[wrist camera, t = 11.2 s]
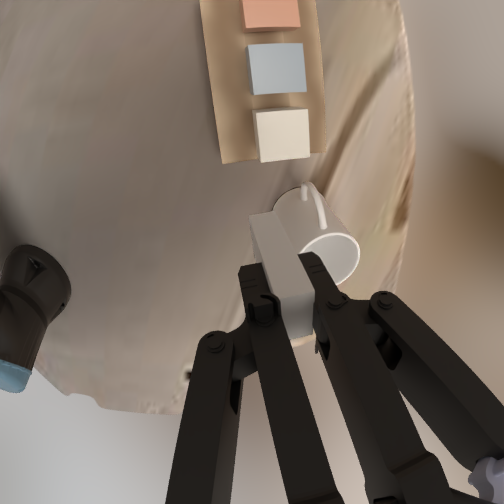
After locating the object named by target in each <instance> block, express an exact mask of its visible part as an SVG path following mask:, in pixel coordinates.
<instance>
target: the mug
mask: <svg viewBox="0 0 504 504" xmlns="http://www.w3.org/2000/svg"><path fill="white" fill-rule="evenodd" d="M307 187H308V188H307ZM273 211H275V212H276V214H277V216H278V218H279V220H280V222H281V224H282V226H283V227H284V229H285V231H286V233H287V235H288V237H289V239H290V241H291V243H292V245H293V247H294V249H295V251H296V253H297V254H301V253H306V252H311V251H312V252H314V253H315V254H317V255H318V256H319V257H320V258H321V260H322V262H323V263H324V265H325V267H326V269H327V271H328V272H329V274H330V275H331V277H332V279H333V281H334V282H335V284H336V285H338V284H340V283H341V282H343V281H344V280H346V279H347V278H348V277H349V276H350V275H351V274H352V273H353V271H354V270H355V268H356V267H357V265H358V262H359V258H360V249H359V245H358V243H357V242H356V240H355V239H354V238H353V236H352V235H351V234H350V232H349V231H348V230H347V228H346V227H345V226H344V225H343V223H342V222H341V221H340V219H339V218H338V217H337V216H336V214H335V213H334V212H333V211H332V209H331V208H330V207H329V206H328V205H327V203H326V200H325V199H324V197H323V196H322V195H321V194H320V193H319V192H318V191H317V189H316V187H315V186H314V185H313V183H311V182H309V181H306V182H303V183H302V185H301V187H300V188H295V189H292V190H290V191H288V192H286V193H285V194H283V195H282V196H281V197H280V198H279V199H278V200H277V202H276V203H275V205H274V207H273Z"/></svg>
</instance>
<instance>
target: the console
mask: <svg viewBox="0 0 504 504" xmlns="http://www.w3.org/2000/svg"><path fill="white" fill-rule="evenodd" d="M297 2H298V10H299V17H300V25H301V27H300V28H298V29H296V30H294V31H266V32H248V33H243V30H242V22H241V14H240V7H239V0H200V8H201V16H202V24H203V32H204V40H205V47H206V55H207V62H208V69H209V76H210V84H211V91H212V98H213V105H214V111H215V118H216V125H217V132H218V138H219V145H220V152H221V158H222V164H227V163H233V162H240V161H247V160H254V159H259V158H258V157H257V151H256V142H255V132H254V123H253V114H252V110H260V109H271V108H283V107H303V108H306V109H308V120H309V142H310V153H322V152H326V123H325V99H324V82H323V68H322V56H321V45H320V36H319V27H318V19H317V11H316V4H315V0H297ZM275 43H303V53H304V63H305V75H306V87H307V92H288V93H272V94H260V95H252V94H250V88H249V79H248V70H247V62H246V54H245V48H246V47H247V46H248V45H255V44H275Z"/></svg>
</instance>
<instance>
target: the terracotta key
mask: <svg viewBox="0 0 504 504" xmlns="http://www.w3.org/2000/svg"><path fill="white" fill-rule="evenodd" d="M239 7H240V14H241V22H242V30H243V33H248V32H266V31H294V30H296V29H298V28H300V27H301V25H300V17H299V10H298V2H297V0H239Z"/></svg>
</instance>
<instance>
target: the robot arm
mask: <svg viewBox="0 0 504 504" xmlns="http://www.w3.org/2000/svg"><path fill="white" fill-rule="evenodd" d="M249 223H250V230H251V236H252V243H253V250H254V256H255V259H256V263H255V264H250V265H245V266H241V267H240V270H239V273H238V277H239V282H240V287H241V292H242V297H243V302H244V307H245V313H246V317H245V320H244V322H243V323H242V325H241V326H239V327H238V328H237V329H235V330H233V331H231V332H229V333H226V332H223V331H212V332H209V333H207V334H205V335H204V336H203V337H202V338H201V339H200V341H199V343H198V347H197V351H196V356H195V360H194V364H193V369H192V373H191V377H190V382H189V386H188V391H187V395H186V400H185V405H184V409H183V414H182V419H181V423H180V429H179V434H178V438H177V443H176V448H175V453H174V458H173V463H172V469H171V474H170V480H169V485H168V491H167V497H166V502H165V504H230V500H231V491H232V482H233V473H234V464H235V455H236V446H237V437H238V428H239V417H240V409H241V399H242V389H243V381H244V378H245V377H247V376H248V375H250V374H252V373H254V372H256V371H258V374H259V379H260V383H261V388H262V392H263V397H264V401H265V406H266V410H267V415H268V419H269V423H270V427H271V432H272V436H273V441H274V445H275V449H276V454H277V458H278V462H279V466H280V470H281V474H282V478H283V483H284V486H285V491H286V495H287V499H288V503H289V504H345V503H344V501H343V498H342V496H341V495H340V493H339V492H338V490H337V488H336V485H335V482H334V478H333V475H332V472H331V469H330V466H329V462H328V459H327V456H326V453H325V450H324V446H323V443H322V440H321V437H320V434H319V430H318V427H317V424H316V421H315V418H314V415H313V412H312V408H311V405H310V402H309V399H308V396H307V393H306V389H305V386H304V383H303V380H302V377H301V374H300V371H299V368H298V365H297V362H296V358H295V356H294V352H293V349H292V346H291V343H290V340H292V339H296V338H300V337H304V336H308V335H312V334H313V328H314V331H315V333H316V344H315V353H318V350H319V352H320V355H321V357H322V360H323V363H324V365H325V368H326V371H327V373H328V376H329V379H330V381H331V384H332V387H333V389H334V392H335V395H336V397H337V400H338V403H339V406H340V408H341V411H342V414H343V416H344V419H345V422H346V425H347V428H348V431H349V433H350V436H351V439H352V442H353V444H354V448H355V450H356V453H357V456H358V459H359V462H360V465H361V468H362V471H363V474H364V477H365V491H366V495H367V498H368V501H369V504H504V406H503V405H502V404H501V402H500V401H499V400H498V399H497V398H496V397H495V395H494V394H493V393H492V392H491V391H490V390H489V389H488V387H487V386H486V385H485V384H484V383H483V382H482V381H481V380H480V379H479V378H478V376H477V375H476V374H475V373H474V372H473V371H472V370H471V369H470V368H469V367H468V366H467V365H466V364H465V362H464V361H463V360H462V359H461V358H460V357H459V356H458V355H457V354H456V353H455V352H454V351H453V350H452V349H451V348H450V347H449V346H448V345H447V344H446V343H445V342H444V341H443V340H442V339H441V338H440V337H439V336H438V335H437V334H436V333H435V332H434V331H433V330H432V329H431V328H430V327H429V326H428V325H427V324H426V323H425V322H424V321H423V320H422V319H421V318H420V317H419V316H417V315H416V314H415V313H414V312H413V311H412V310H411V309H410V308H409V307H408V306H407V305H406V304H405V303H404V302H403V301H401V300H400V299H399V298H398V297H397V296H396V295H394V294H393V293H391V292H388V291H379V292H376V293H374V294H373V295H372V296H371V299H370V300H353V299H350V298H349V297H348V296H347V295H346V294H344V293H342V292H340V291H339V289H338V288H337V286H336V284H335V282H334V281H333V279H332V277H331V275H330V274H329V272H328V271H327V269H326V267H325V265H324V263H323V262H322V260H321V258H320V257H319V256H318V255H317V254H315V253H314V252H312V251H311V252H306V253H301V254H297V253H296V251H295V249H294V247H293V245H292V243H291V241H290V239H289V237H288V235H287V233H286V231H285V229H284V227H283V226H282V224H281V222H280V220H279V218H278V216H277V214H276V212H275V211H271V212H265V213H260V214H254V215H249ZM70 295H71V287H70V283H69V280H68V277H67V275H66V273H65V272H64V270H63V269H62V267H61V266H60V265H59V264H58V262H57V261H56V260H55V259H54V258H53V257H51V256H50V255H49V254H48V253H46V252H45V251H43V250H41V249H39V248H37V247H34V246H30V245H22V246H18V247H16V248H15V249H14V250H13V251H12V252H11V254H10V255H9V256H8V258H7V259H6V261H5V265H4V268H3V272H2V275H1V279H0V389H2V390H5V391H8V392H12V393H20V392H22V391H23V390H24V389H25V387H26V384H27V382H28V379H29V377H30V375H31V374H32V368H33V365H34V362H35V359H36V356H37V353H38V350H39V347H40V345H41V342H42V339H43V337H44V334H45V331H46V329H47V327H48V325H49V324H50V323H51V322H52V321H53V320H54V319H55V318H56V317H57V316H58V315H59V314H60V313H61V312H62V311H63V310H64V309H65V307H66V305H67V303H68V301H69V298H70ZM398 389H399V390H398ZM399 391H401V393H402V394H403V395H404V397H405V398H406V399H407V400H408V402H409V403H410V404H411V405H412V406H413V408H414V409H415V410H416V411H417V412H418V414H419V415H420V416H421V417H422V418H423V420H424V421H425V422H426V423H427V425H428V426H429V427H430V428H431V430H432V431H433V432H434V433H435V434H436V436H437V437H438V438H439V440H440V441H441V442H442V443H443V444H444V446H445V447H446V448H447V450H448V451H449V452H450V453H451V455H452V456H453V457H454V458H455V459H456V460H457V461H458V462H459V463H460V464H461V465H462V466H463V467H465V468H466V469H468V470H470V471H471V472H472V473H471V474H470V475H469V478H468V482H469V484H471V485H473V486H474V487H475V488H476V489H477V490H478V492H479V498H477V497H474V496H471V495H468V494H466V493H463V492H460V491H458V490H455V489H452V488H450V487H449V484H448V482H447V479H446V476H445V474H444V471H443V468H442V466H441V463H440V461H439V460H438V458H437V457H436V456H435V455H434V454H433V453H430V452H428V451H427V450H426V449H425V447H424V445H423V443H422V441H421V438H420V436H419V434H418V432H417V430H416V427H415V425H414V422H413V420H412V418H411V416H410V414H409V411H408V409H407V407H406V405H405V403H404V401H403V399H402V396H401V394H400V392H399Z"/></svg>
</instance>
